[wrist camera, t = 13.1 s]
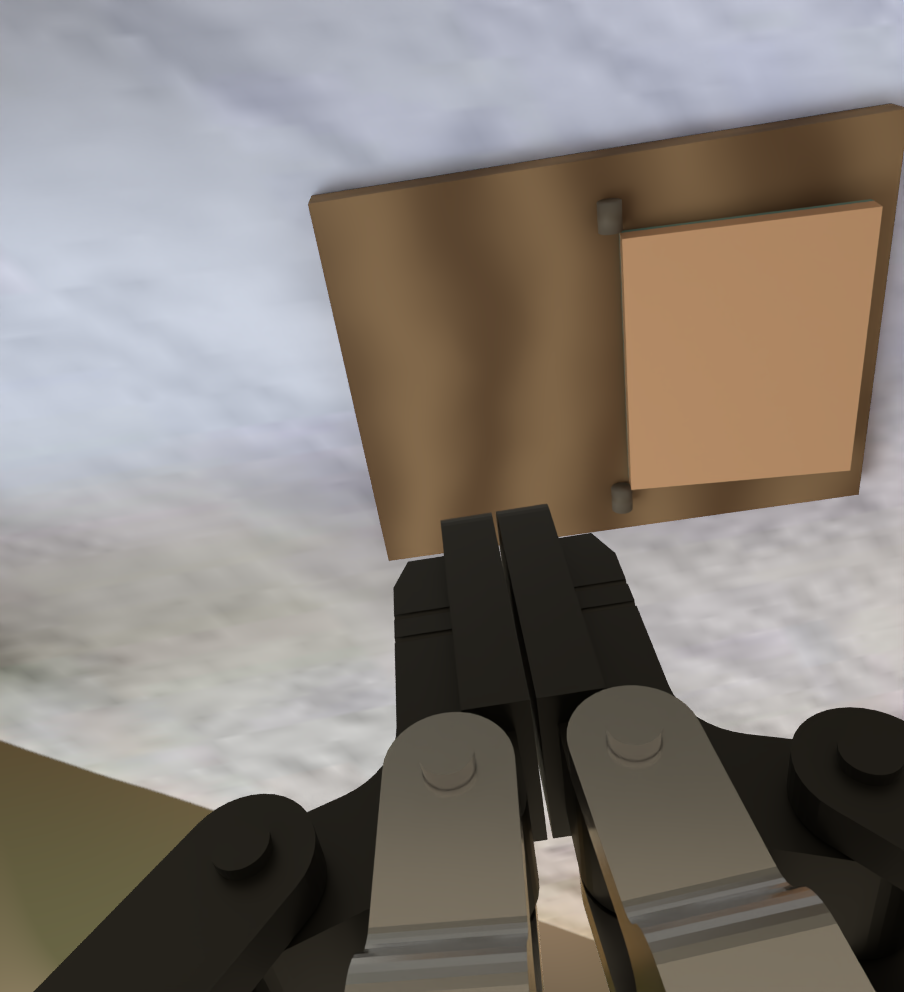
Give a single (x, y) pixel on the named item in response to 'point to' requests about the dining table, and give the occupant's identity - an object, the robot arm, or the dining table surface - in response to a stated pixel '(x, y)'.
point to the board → (558, 318)
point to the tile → (746, 343)
